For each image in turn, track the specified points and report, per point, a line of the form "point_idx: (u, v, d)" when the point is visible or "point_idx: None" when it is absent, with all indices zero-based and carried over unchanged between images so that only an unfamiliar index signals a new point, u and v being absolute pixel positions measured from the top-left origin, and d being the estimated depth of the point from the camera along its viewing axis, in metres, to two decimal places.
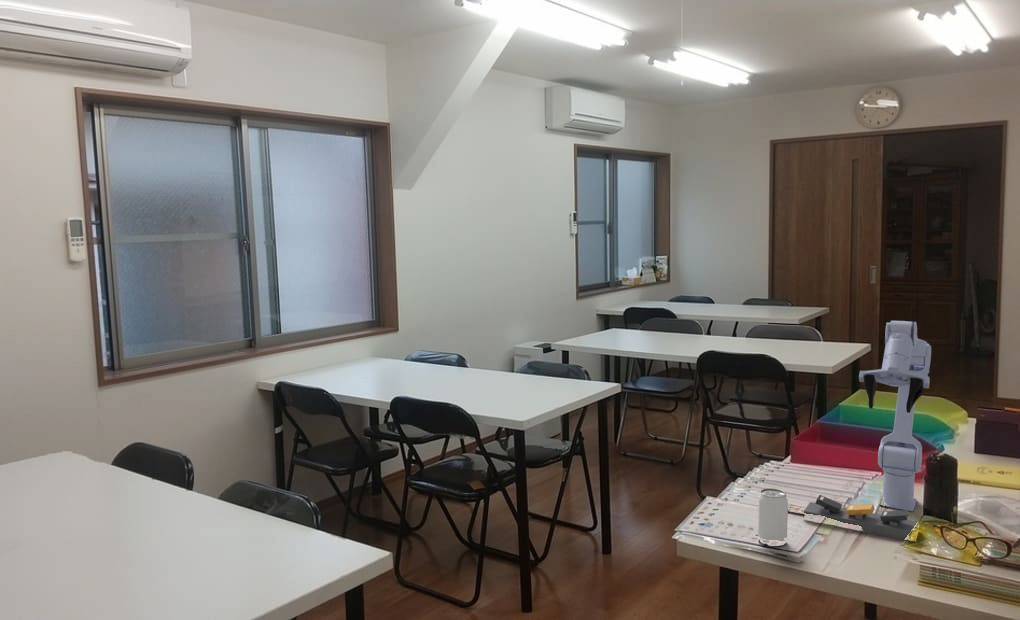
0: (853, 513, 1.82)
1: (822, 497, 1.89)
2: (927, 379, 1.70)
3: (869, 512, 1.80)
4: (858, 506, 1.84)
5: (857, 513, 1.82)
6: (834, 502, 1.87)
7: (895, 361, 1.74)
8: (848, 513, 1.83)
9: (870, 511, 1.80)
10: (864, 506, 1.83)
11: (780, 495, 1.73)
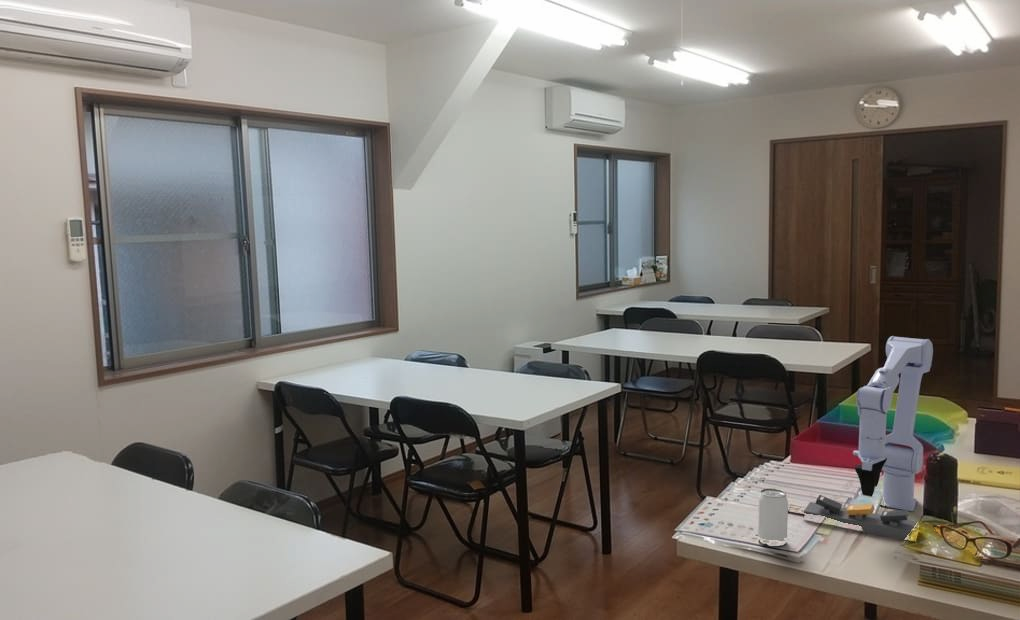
0: (853, 513, 1.82)
1: (822, 497, 1.89)
2: (862, 464, 1.75)
3: (869, 512, 1.80)
4: (858, 506, 1.84)
5: (857, 513, 1.82)
6: (834, 502, 1.87)
7: None
8: (848, 513, 1.83)
9: (870, 511, 1.80)
10: (864, 506, 1.83)
11: (780, 495, 1.73)
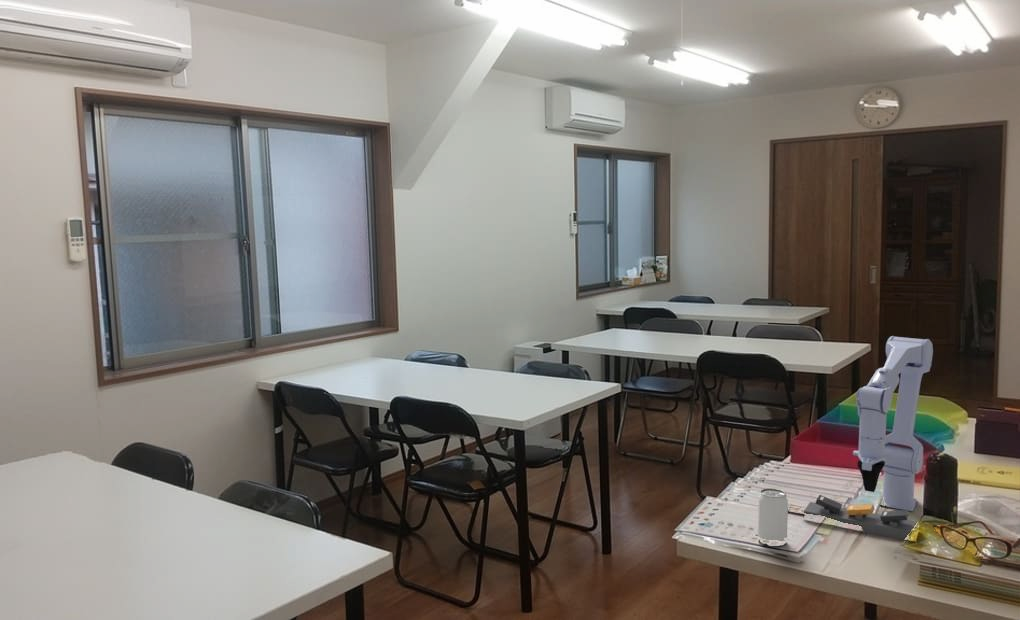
0: (853, 513, 1.82)
1: (822, 497, 1.89)
2: (862, 464, 1.75)
3: (869, 512, 1.80)
4: (858, 506, 1.84)
5: (857, 513, 1.82)
6: (834, 502, 1.87)
7: None
8: (848, 513, 1.83)
9: (870, 511, 1.80)
10: (864, 506, 1.83)
11: (780, 495, 1.73)
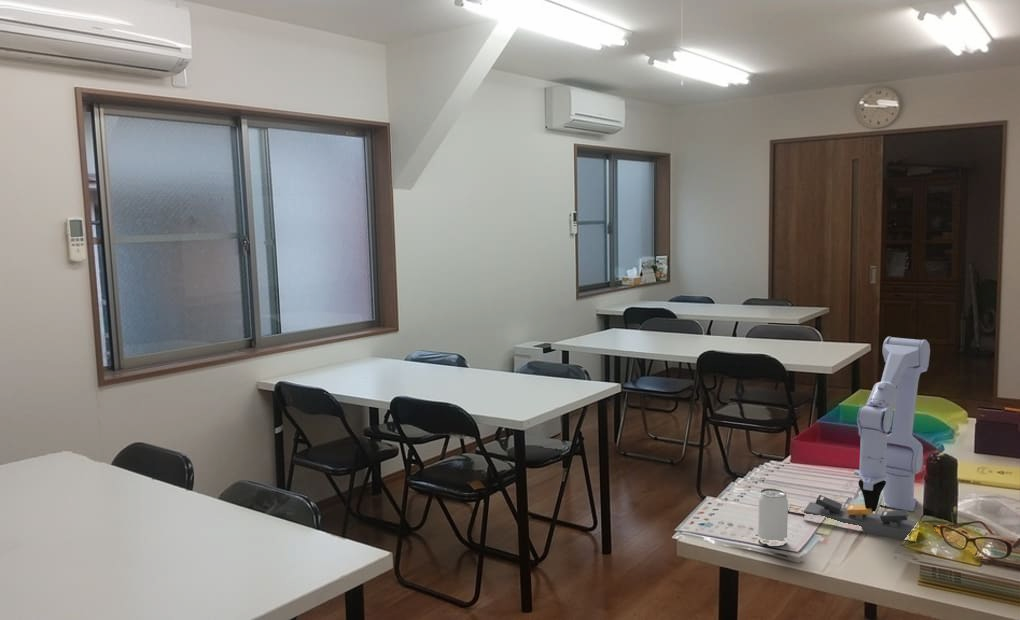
0: (853, 513, 1.82)
1: (822, 497, 1.89)
2: (863, 484, 1.75)
3: (869, 512, 1.80)
4: (858, 506, 1.84)
5: (857, 513, 1.82)
6: (834, 502, 1.87)
7: None
8: (848, 513, 1.83)
9: (870, 511, 1.80)
10: (864, 506, 1.83)
11: (780, 495, 1.73)
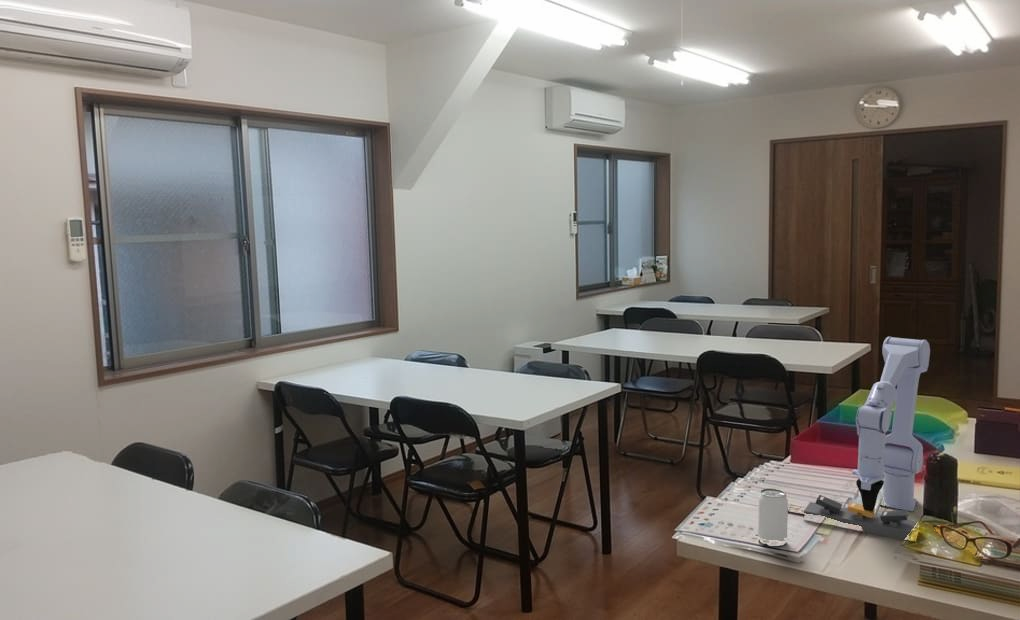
0: (853, 511, 1.82)
1: (822, 497, 1.89)
2: (861, 484, 1.76)
3: (870, 515, 1.80)
4: (860, 506, 1.84)
5: (857, 512, 1.82)
6: (834, 502, 1.87)
7: None
8: (848, 509, 1.83)
9: (871, 515, 1.80)
10: None
11: (780, 495, 1.73)
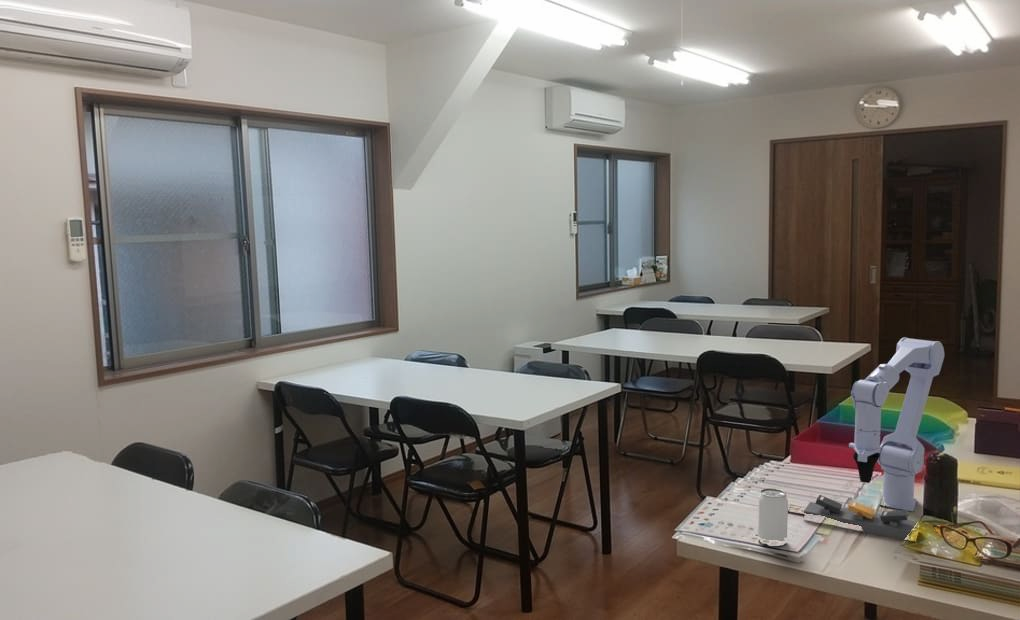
0: (854, 511, 1.82)
1: (822, 497, 1.89)
2: (857, 456, 1.80)
3: (870, 517, 1.80)
4: (860, 506, 1.83)
5: (858, 512, 1.82)
6: (834, 502, 1.87)
7: None
8: (849, 508, 1.83)
9: (871, 516, 1.80)
10: (866, 508, 1.83)
11: (780, 495, 1.73)
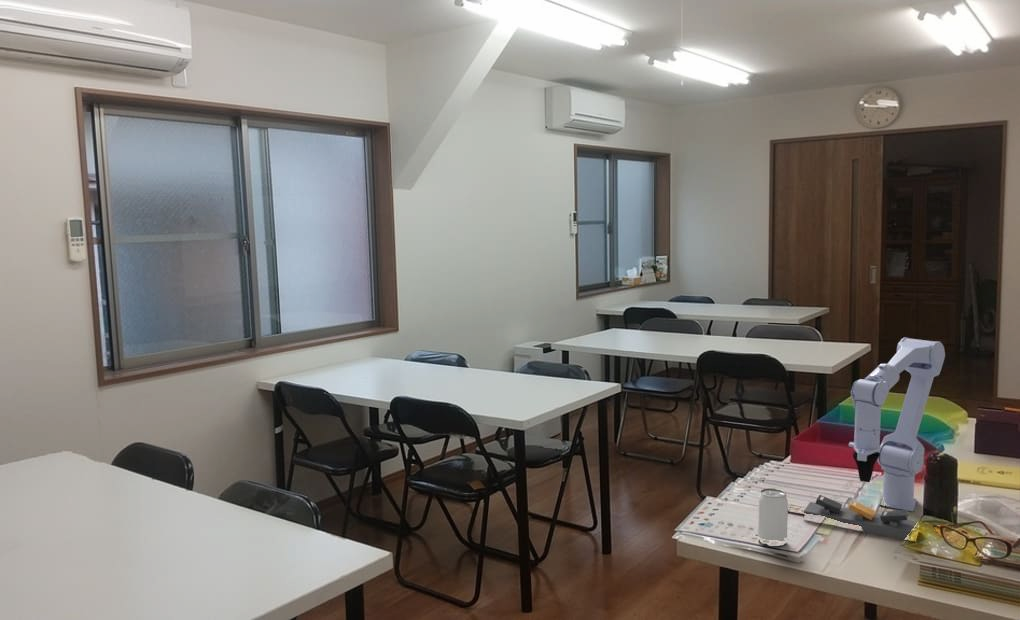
0: (854, 510, 1.82)
1: (822, 497, 1.89)
2: (857, 455, 1.80)
3: (870, 518, 1.80)
4: (861, 506, 1.83)
5: (858, 512, 1.82)
6: (834, 502, 1.87)
7: (854, 435, 1.86)
8: (849, 508, 1.83)
9: (871, 517, 1.80)
10: (867, 508, 1.83)
11: (780, 495, 1.73)
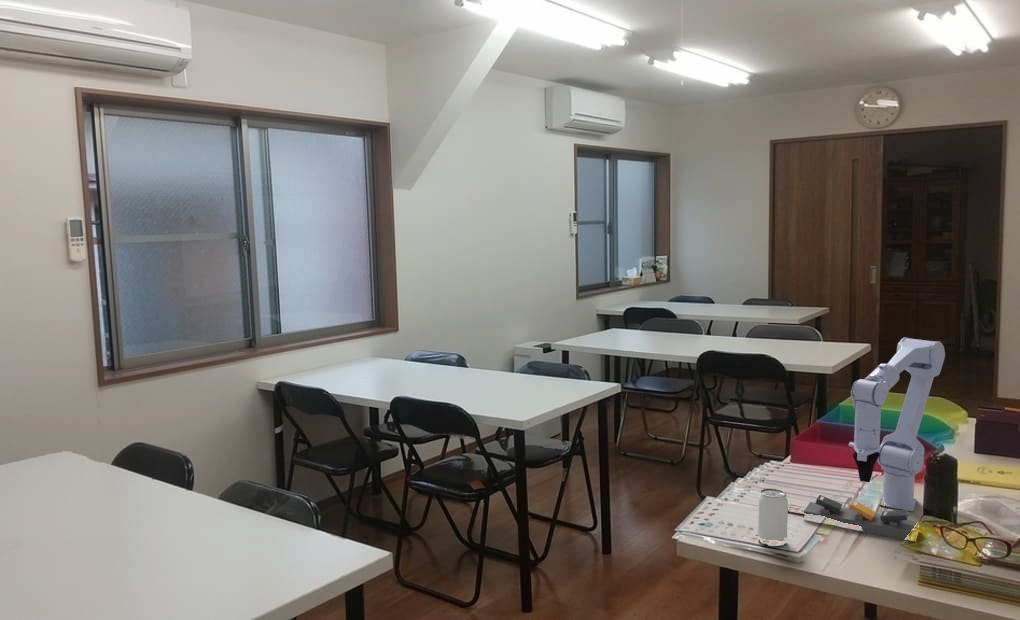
0: (854, 510, 1.82)
1: (822, 497, 1.89)
2: (857, 455, 1.80)
3: (869, 518, 1.80)
4: (861, 506, 1.83)
5: (858, 512, 1.82)
6: (834, 502, 1.87)
7: (854, 435, 1.86)
8: (850, 507, 1.83)
9: (871, 518, 1.80)
10: (867, 509, 1.83)
11: (780, 495, 1.73)
